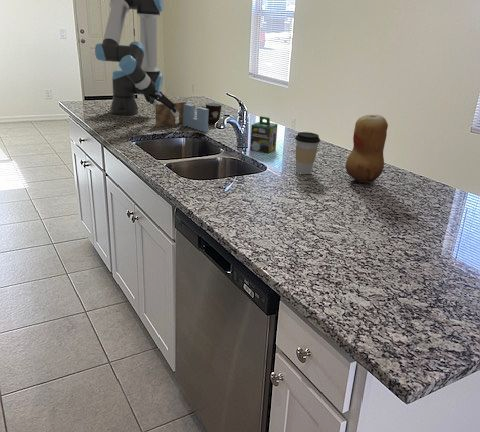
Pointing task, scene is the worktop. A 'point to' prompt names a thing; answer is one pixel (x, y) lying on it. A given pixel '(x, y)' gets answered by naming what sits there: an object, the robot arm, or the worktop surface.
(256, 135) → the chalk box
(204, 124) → the slate-blue board
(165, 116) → the walnut board
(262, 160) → the worktop surface
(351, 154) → the butternut squash
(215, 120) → the coffee mug
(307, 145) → the coffee cup
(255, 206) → the worktop surface
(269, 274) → the worktop surface
